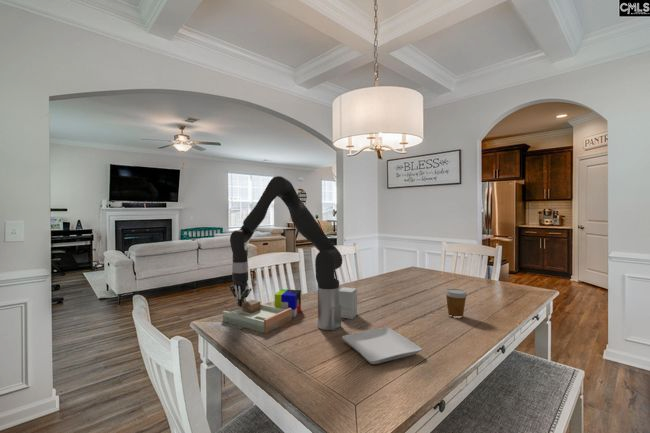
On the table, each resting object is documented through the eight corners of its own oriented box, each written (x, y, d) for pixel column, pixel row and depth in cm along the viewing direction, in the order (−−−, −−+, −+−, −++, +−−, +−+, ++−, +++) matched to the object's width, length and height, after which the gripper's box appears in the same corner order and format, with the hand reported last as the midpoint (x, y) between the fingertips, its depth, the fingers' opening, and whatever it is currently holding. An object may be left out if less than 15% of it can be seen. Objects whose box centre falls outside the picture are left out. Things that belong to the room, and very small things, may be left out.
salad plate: (370, 371, 96) (370, 360, 96) (340, 343, 116) (340, 335, 116) (423, 358, 105) (423, 348, 105) (387, 334, 124) (387, 326, 124)
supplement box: (357, 314, 147) (357, 288, 147) (352, 319, 140) (352, 292, 140) (343, 312, 150) (343, 286, 150) (337, 317, 143) (337, 290, 143)
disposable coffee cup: (469, 316, 145) (469, 290, 144) (462, 321, 138) (462, 295, 137) (449, 311, 151) (449, 287, 151) (441, 316, 144) (441, 291, 144)
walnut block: (260, 309, 146) (260, 301, 146) (251, 313, 141) (251, 304, 141) (251, 307, 149) (251, 299, 149) (242, 311, 144) (242, 302, 144)
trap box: (291, 320, 139) (291, 308, 139) (266, 333, 125) (266, 320, 125) (250, 310, 153) (250, 299, 153) (222, 321, 138) (222, 309, 138)
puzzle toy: (294, 316, 144) (294, 295, 144) (274, 315, 146) (274, 294, 146) (300, 309, 154) (300, 290, 153) (281, 308, 156) (281, 289, 155)
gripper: (255, 270, 148) (256, 306, 149) (236, 268, 155) (237, 302, 155) (244, 273, 142) (244, 310, 142) (224, 270, 149) (225, 306, 149)
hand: (240, 306), depth 149 cm, fingers closed
